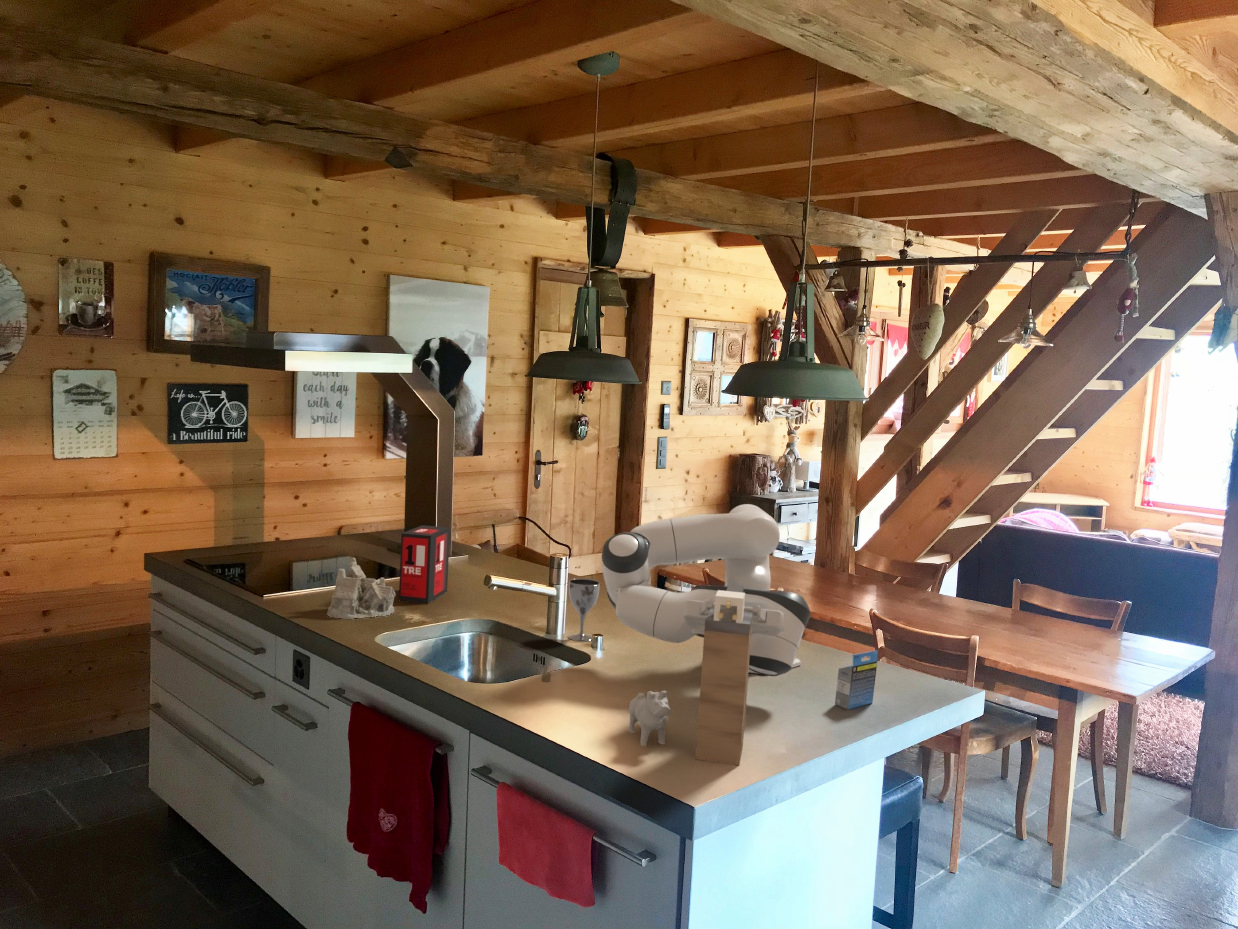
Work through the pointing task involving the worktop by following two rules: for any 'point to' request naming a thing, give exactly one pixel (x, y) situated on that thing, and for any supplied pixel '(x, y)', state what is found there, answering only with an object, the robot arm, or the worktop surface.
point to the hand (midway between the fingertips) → (732, 606)
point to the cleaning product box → (424, 563)
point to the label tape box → (857, 681)
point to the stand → (723, 689)
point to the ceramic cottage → (360, 595)
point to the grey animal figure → (649, 715)
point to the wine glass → (583, 602)
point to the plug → (730, 604)
